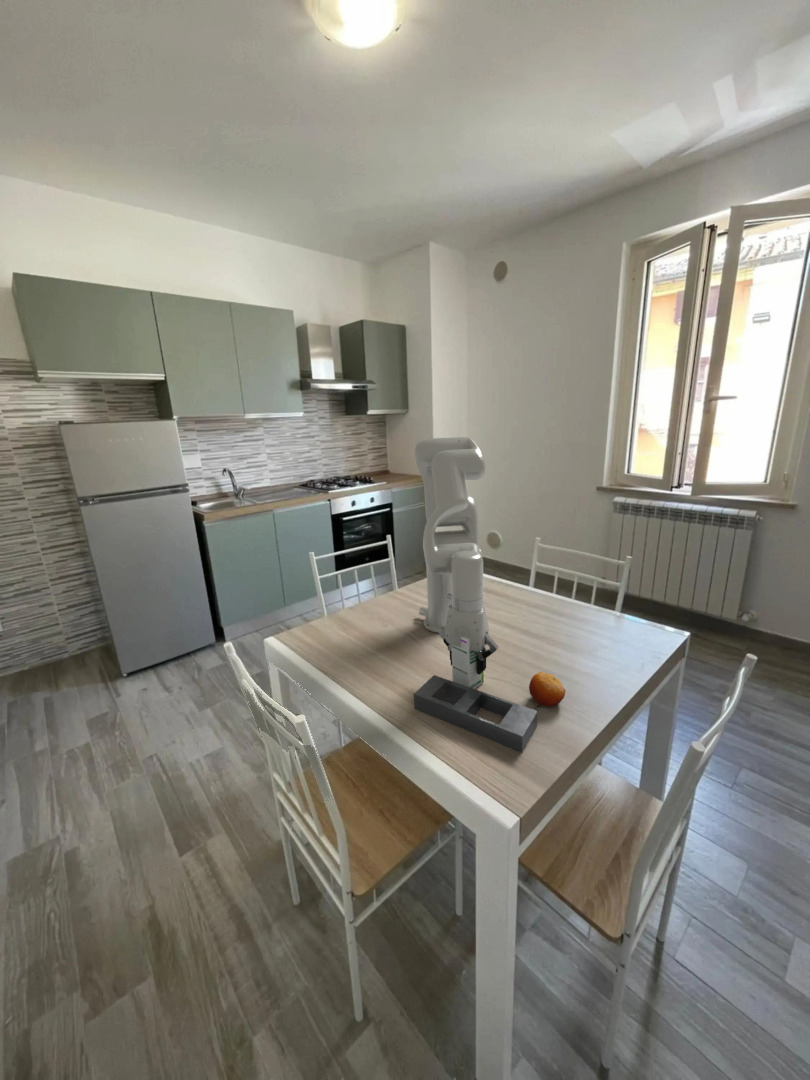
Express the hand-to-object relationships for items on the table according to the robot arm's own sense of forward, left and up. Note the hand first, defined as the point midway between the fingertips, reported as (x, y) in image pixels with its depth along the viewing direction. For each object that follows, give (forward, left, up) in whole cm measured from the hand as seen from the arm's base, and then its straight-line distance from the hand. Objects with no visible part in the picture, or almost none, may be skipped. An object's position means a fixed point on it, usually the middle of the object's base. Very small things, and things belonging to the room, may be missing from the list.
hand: (467, 666), depth 107 cm
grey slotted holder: (+7, -11, -5) cm, 14 cm away
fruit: (+19, +3, -5) cm, 20 cm away
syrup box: (0, 0, -5) cm, 5 cm away
